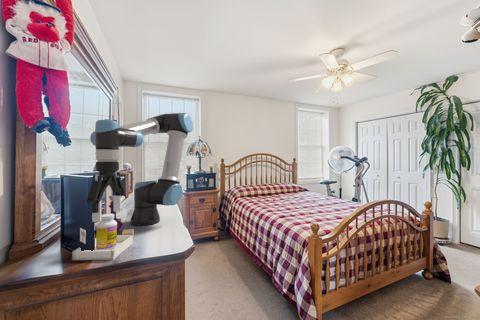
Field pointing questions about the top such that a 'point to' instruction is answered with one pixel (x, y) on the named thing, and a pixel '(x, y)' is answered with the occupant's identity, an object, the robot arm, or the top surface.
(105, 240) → the supplement bottle
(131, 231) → the maple block
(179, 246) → the top surface
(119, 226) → the perfume bottle
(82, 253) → the tray
